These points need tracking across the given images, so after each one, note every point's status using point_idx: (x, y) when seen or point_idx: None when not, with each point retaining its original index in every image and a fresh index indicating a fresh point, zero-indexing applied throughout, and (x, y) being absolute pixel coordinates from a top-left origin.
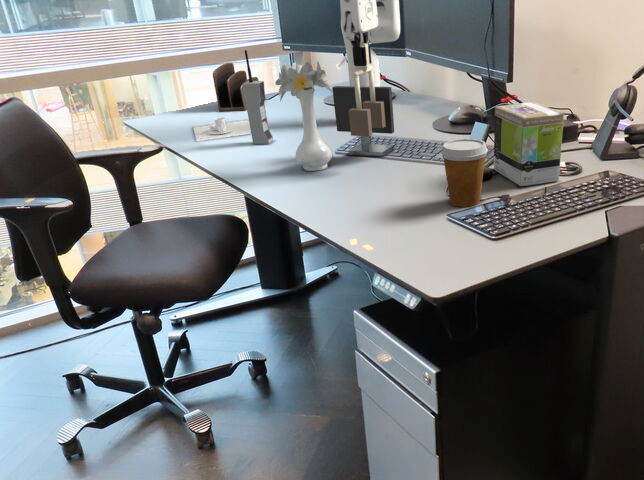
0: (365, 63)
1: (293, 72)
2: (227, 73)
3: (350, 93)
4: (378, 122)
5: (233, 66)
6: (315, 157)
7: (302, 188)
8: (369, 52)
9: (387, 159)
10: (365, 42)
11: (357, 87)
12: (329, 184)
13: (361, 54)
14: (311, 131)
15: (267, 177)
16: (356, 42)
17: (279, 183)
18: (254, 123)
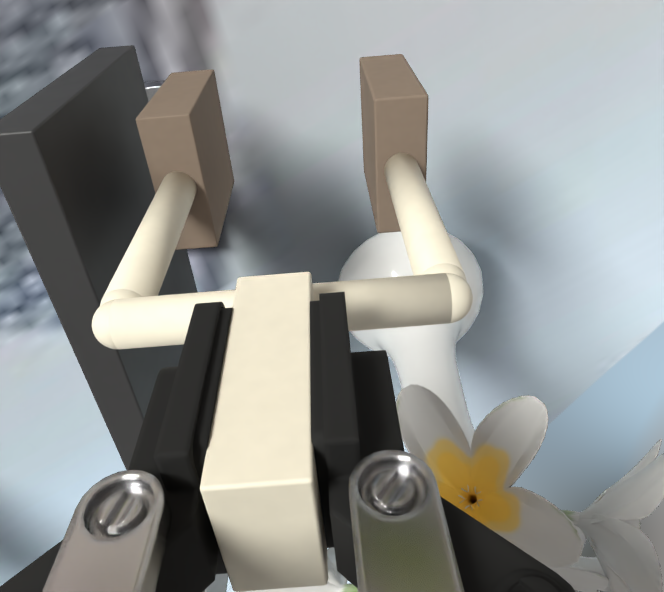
0: (343, 306)
1: None
2: None
3: (145, 378)
4: (214, 104)
5: None
6: (473, 257)
7: (646, 178)
8: (203, 384)
9: (205, 34)
10: (188, 532)
11: (444, 230)
12: (597, 102)
13: (371, 403)
14: (449, 340)
15: (528, 347)
16: (514, 554)
17: (588, 282)
18: (219, 585)
